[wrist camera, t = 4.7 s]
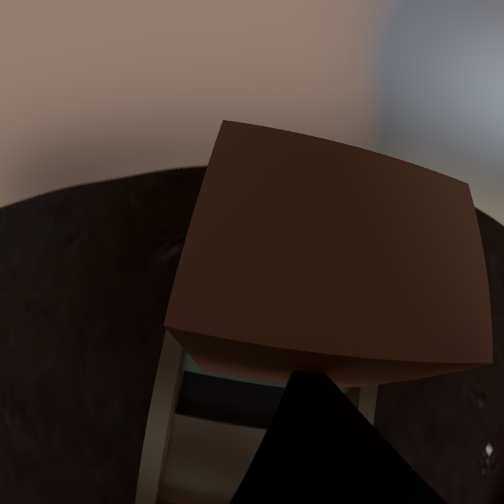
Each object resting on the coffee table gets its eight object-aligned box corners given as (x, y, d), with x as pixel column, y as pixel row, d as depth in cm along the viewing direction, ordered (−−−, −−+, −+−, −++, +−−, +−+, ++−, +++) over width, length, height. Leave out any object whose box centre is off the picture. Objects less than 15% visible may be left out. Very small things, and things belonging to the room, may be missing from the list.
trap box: (332, 523, 11) (348, 539, 9) (144, 502, 10) (133, 517, 8) (364, 263, 17) (382, 245, 15) (199, 232, 16) (197, 210, 15)
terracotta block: (335, 388, 12) (492, 362, 4) (202, 369, 12) (163, 325, 4) (343, 301, 14) (468, 183, 6) (220, 279, 14) (223, 119, 6)
